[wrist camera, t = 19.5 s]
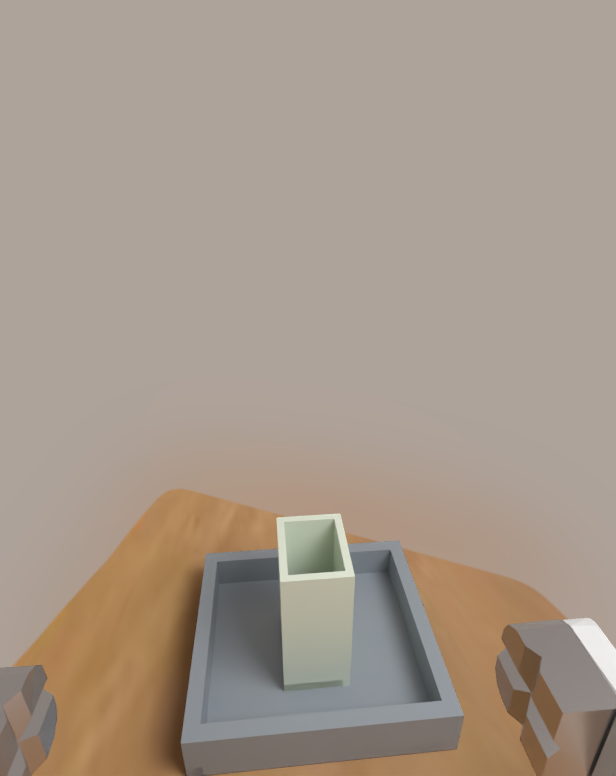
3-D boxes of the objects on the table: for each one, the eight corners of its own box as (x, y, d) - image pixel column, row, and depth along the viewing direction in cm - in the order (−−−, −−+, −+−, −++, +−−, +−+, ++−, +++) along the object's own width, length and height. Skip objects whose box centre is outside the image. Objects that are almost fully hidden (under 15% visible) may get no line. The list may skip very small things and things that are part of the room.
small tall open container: (284, 691, 40) (280, 582, 35) (280, 619, 46) (276, 517, 41) (349, 685, 40) (355, 576, 35) (337, 614, 47) (340, 513, 42)
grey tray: (186, 777, 35) (180, 743, 34) (209, 582, 52) (206, 553, 50) (457, 749, 37) (464, 715, 35) (396, 569, 53) (398, 540, 51)
